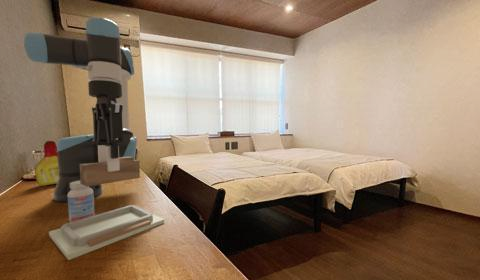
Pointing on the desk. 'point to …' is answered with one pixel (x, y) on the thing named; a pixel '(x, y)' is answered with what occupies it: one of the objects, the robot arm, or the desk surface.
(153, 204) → the desk surface
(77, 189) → the pill bottle
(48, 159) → the bottle
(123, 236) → the tray
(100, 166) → the brown block
